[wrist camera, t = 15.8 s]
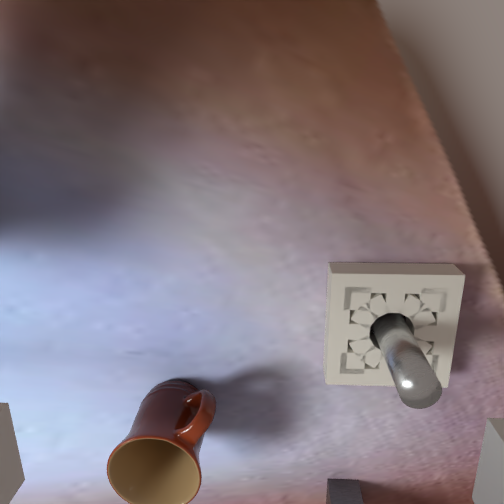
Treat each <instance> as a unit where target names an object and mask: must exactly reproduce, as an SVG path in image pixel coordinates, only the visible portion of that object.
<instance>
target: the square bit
mask: <svg viewBox="0 0 504 504" xmlns="http://www.w3.org/2000/svg"><path fill="white" fill-rule="evenodd" d="M326 504H363V499H362V494H361V490H360V485H359V480H347V479H328V481H327V497H326Z"/></svg>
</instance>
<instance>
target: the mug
mask: <svg viewBox="0 0 504 504" xmlns="http://www.w3.org/2000/svg"><path fill="white" fill-rule="evenodd" d="M215 410H216V400H215V397H214V395H213V394H212V393H210V392H209V391H207V390H205V389H202V390H198V389H197V388H195V387H194V386H192V385H191V384H189V383H186V382H183V381H166V382H162V383H160V384H158V385H156V386H155V387H154V388H153V389H152V390H151V391H150V392H149V393H148V394H147V395H146V397H145V398H144V400H143V401H142V403H141V405H140V407H139V410H138V413H137V415H136V417H135V420H134V422H133V425H132V428H131V430H130V432H129V434H128V435H127V437H126V438H125V439H124V440H123V441H122V442H121V443H120V444H119V445H118V446H117V447H116V448H115V449H114V450H113V451H112V453H111V455H110V457H109V459H108V463H107V475H108V479H109V482H110V484H111V486H112V487H113V489H114V490H115V491H116V493H117V494H118V495H119V496H120V497H121V498H123V499H124V500H125V501H127V502H128V503H130V504H187V503H189V502H190V501H191V500H192V499H193V498H194V497H195V496H196V494H197V493H198V491H199V488H200V485H201V478H202V477H201V468H200V462H199V452H200V448H201V445H202V441H203V438H204V433H205V431H206V430H207V429H208V427H209V426H210V424H211V422H212V420H213V418H214V415H215Z"/></svg>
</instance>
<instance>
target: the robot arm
mask: <svg viewBox="0 0 504 504" xmlns="http://www.w3.org/2000/svg"><path fill="white" fill-rule="evenodd" d="M24 480H25V478H24V473H23V469H22V464H21V459H20V455H19V450H18V446H17V441H16V437H15V432H14V427H13V423H12V418H11V414H10V409H9V405H8V403H0V504H9V503H10V501H11V500H12V498H13V497H14V495H15V494H16V492H17V491H18V489H19V488H20V486H21V485H22V483H23V482H24ZM472 499H473V501H474V503H475V504H504V418H487V423H486V428H485V434H484V439H483V444H482V449H481V454H480V459H479V464H478V469H477V474H476V479H475V484H474V489H473V494H472Z"/></svg>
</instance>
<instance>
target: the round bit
mask: <svg viewBox="0 0 504 504" xmlns="http://www.w3.org/2000/svg"><path fill="white" fill-rule="evenodd" d="M371 327H372V329H373V332H374V334H375V337H376V339H377V342H378V344H379V347H380V349H381V352H382V354H383V356H384V359H385V361H386V364H387V366H388V369H389V371H390V374H391V376H392V379H393V381H394V383H395V386H396V388H397V391H398V393H399V396H400V398H401V400H402V401H403V403H404V404H406V405H407V406H409V407H411V408H416V409H422V408H427V407H430V406H432V405H433V404H435V403H436V402H437V401H438V400H439V398H440V396H441V394H442V386H441V383H440V381H439V380H438V378H437V376H436V374H435V373H434V371H433V369H432V367H431V366H430V364H429V362H428V360H427V359H426V357H425V355H424V353H423V352H422V350H421V348H420V346H419V345H418V343H417V341H416V339H415V338H414V336H413V334H412V332H411V331H410V329H409V327H408V325H407V324H406V322H405V320H404V318H403V317H402V315H401V313H387V314H384V315H382V316H380V317H378V318H377V319H376V320H375V321H374V323H373V324H372V325H371Z"/></svg>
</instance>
